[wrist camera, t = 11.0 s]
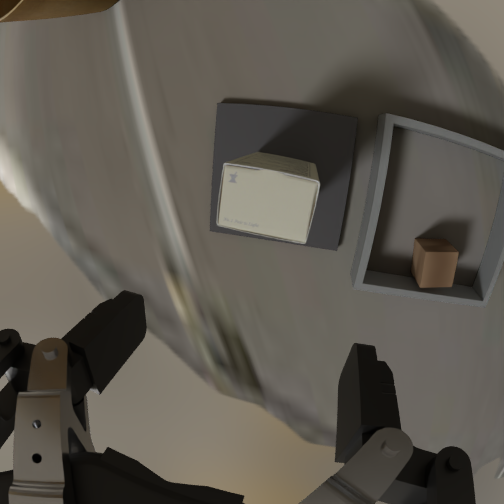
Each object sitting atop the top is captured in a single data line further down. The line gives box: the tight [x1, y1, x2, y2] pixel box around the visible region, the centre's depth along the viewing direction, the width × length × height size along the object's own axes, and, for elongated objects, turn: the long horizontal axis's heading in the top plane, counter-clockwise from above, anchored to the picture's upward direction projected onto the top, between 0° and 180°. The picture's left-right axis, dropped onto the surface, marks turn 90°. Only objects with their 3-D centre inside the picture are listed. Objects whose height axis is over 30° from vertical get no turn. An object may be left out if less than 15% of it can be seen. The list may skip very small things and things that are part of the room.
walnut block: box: [411, 238, 459, 288], centre depth 28 cm, size 4×4×4 cm
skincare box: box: [216, 152, 320, 244], centre depth 24 cm, size 6×4×12 cm
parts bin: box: [350, 113, 504, 308], centre depth 26 cm, size 18×18×4 cm
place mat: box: [210, 103, 358, 251], centre depth 30 cm, size 14×14×1 cm
